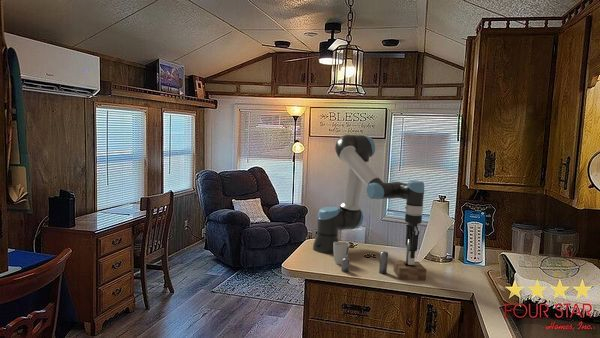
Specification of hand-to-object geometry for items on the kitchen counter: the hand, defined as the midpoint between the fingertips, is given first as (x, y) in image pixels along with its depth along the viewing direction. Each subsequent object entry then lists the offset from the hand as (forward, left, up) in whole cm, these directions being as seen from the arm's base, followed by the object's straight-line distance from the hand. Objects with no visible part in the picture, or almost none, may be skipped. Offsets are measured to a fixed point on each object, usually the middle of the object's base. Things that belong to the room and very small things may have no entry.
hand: (409, 262), depth 204 cm
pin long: (0, 0, -4) cm, 4 cm away
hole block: (0, 0, -6) cm, 6 cm away
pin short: (-2, -30, -6) cm, 31 cm away
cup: (-14, -31, -6) cm, 35 cm away
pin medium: (-2, -12, -6) cm, 14 cm away
